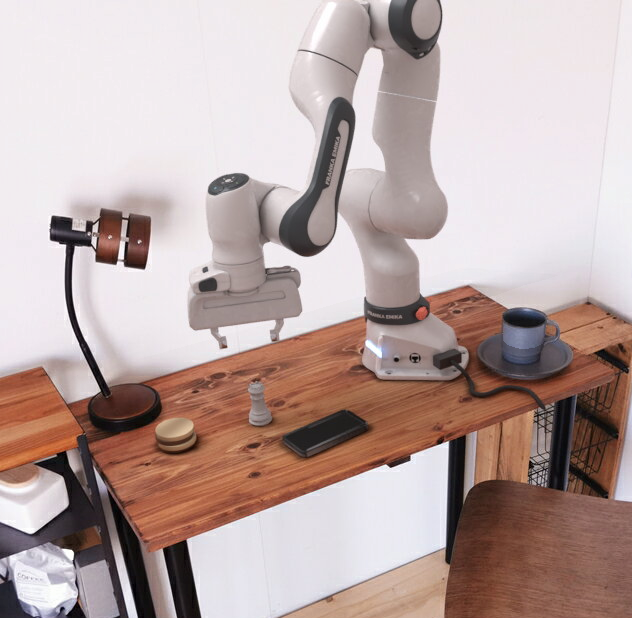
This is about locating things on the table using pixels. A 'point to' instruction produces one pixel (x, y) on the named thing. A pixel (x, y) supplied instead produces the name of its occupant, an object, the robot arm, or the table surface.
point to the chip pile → (175, 435)
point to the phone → (325, 433)
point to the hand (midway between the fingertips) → (249, 343)
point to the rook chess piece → (258, 405)
